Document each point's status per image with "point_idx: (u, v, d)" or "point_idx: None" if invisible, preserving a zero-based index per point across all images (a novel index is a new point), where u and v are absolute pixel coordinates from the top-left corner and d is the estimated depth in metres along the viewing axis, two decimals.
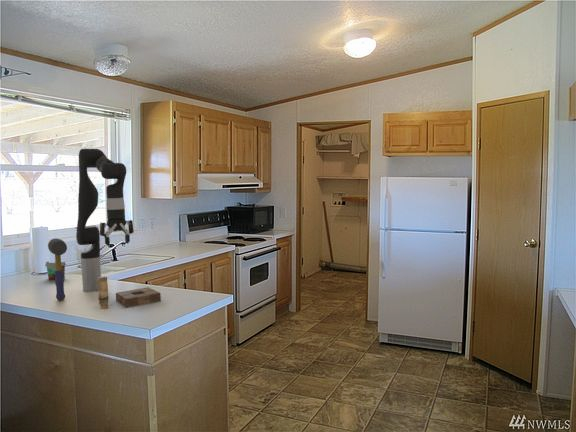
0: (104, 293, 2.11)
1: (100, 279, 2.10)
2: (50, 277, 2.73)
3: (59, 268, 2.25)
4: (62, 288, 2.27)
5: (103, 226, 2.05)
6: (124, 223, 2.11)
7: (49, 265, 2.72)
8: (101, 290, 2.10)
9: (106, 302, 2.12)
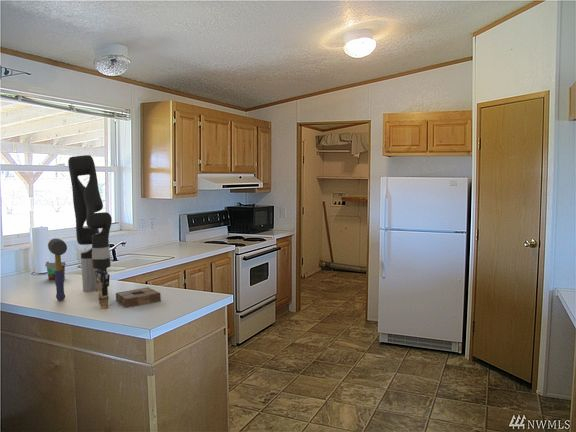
0: None
1: None
2: (50, 277, 2.73)
3: (59, 268, 2.25)
4: (62, 288, 2.27)
5: None
6: None
7: (49, 265, 2.72)
8: (101, 290, 2.10)
9: (106, 302, 2.12)
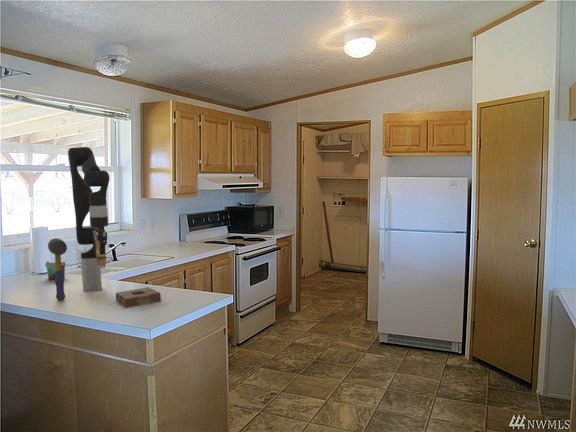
0: None
1: None
2: (50, 277, 2.73)
3: (59, 268, 2.25)
4: (62, 288, 2.27)
5: None
6: None
7: (49, 265, 2.72)
8: None
9: (104, 261, 2.10)
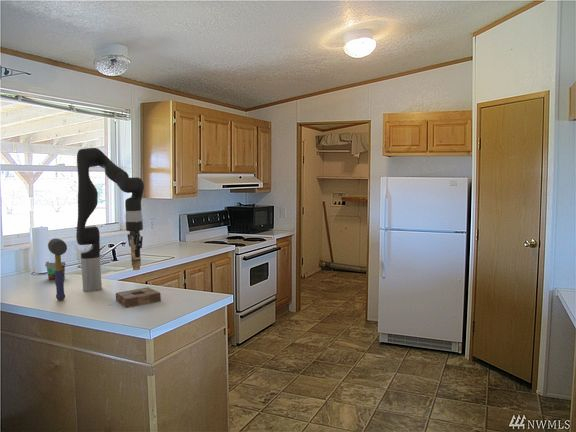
0: None
1: None
2: (50, 277, 2.73)
3: (59, 268, 2.25)
4: (62, 288, 2.27)
5: None
6: None
7: (49, 265, 2.72)
8: (134, 252, 2.19)
9: (138, 264, 2.21)
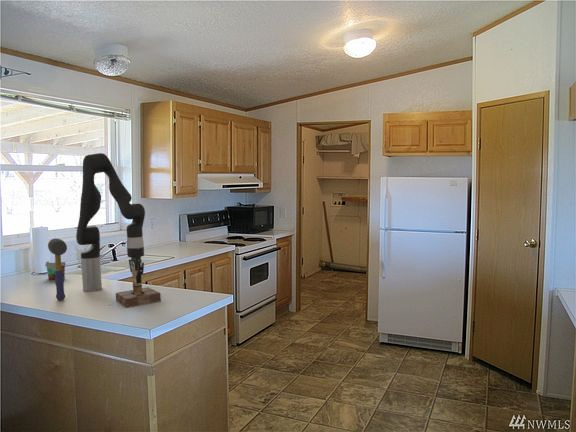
0: None
1: None
2: (50, 277, 2.73)
3: (59, 268, 2.25)
4: (62, 288, 2.27)
5: None
6: None
7: (49, 265, 2.72)
8: None
9: (140, 289, 2.22)
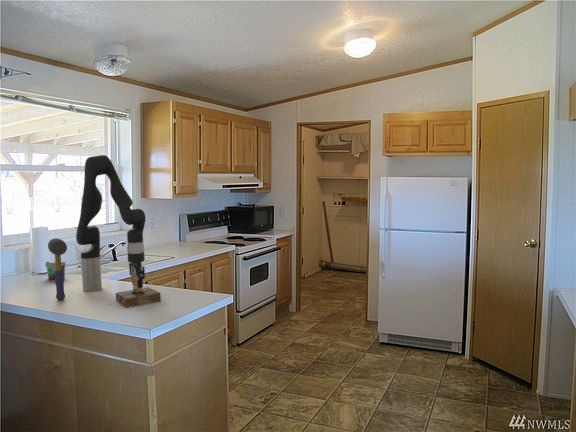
0: None
1: None
2: (50, 277, 2.73)
3: (59, 268, 2.25)
4: (62, 288, 2.27)
5: None
6: None
7: (49, 265, 2.72)
8: (136, 284, 2.21)
9: None
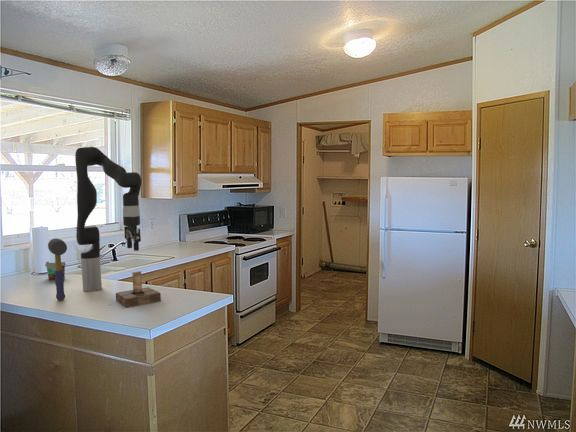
0: (139, 287, 2.21)
1: (135, 273, 2.20)
2: (50, 277, 2.73)
3: (59, 268, 2.25)
4: (62, 288, 2.27)
5: None
6: None
7: (49, 265, 2.72)
8: (136, 284, 2.21)
9: None
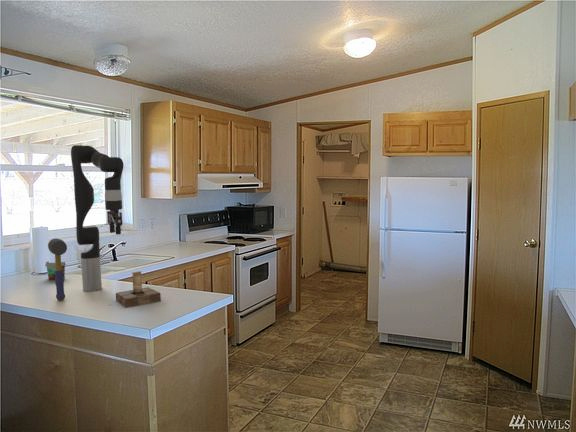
0: (139, 287, 2.21)
1: (135, 273, 2.20)
2: (50, 277, 2.73)
3: (59, 268, 2.25)
4: (62, 288, 2.27)
5: None
6: None
7: (49, 265, 2.72)
8: (136, 284, 2.21)
9: None
